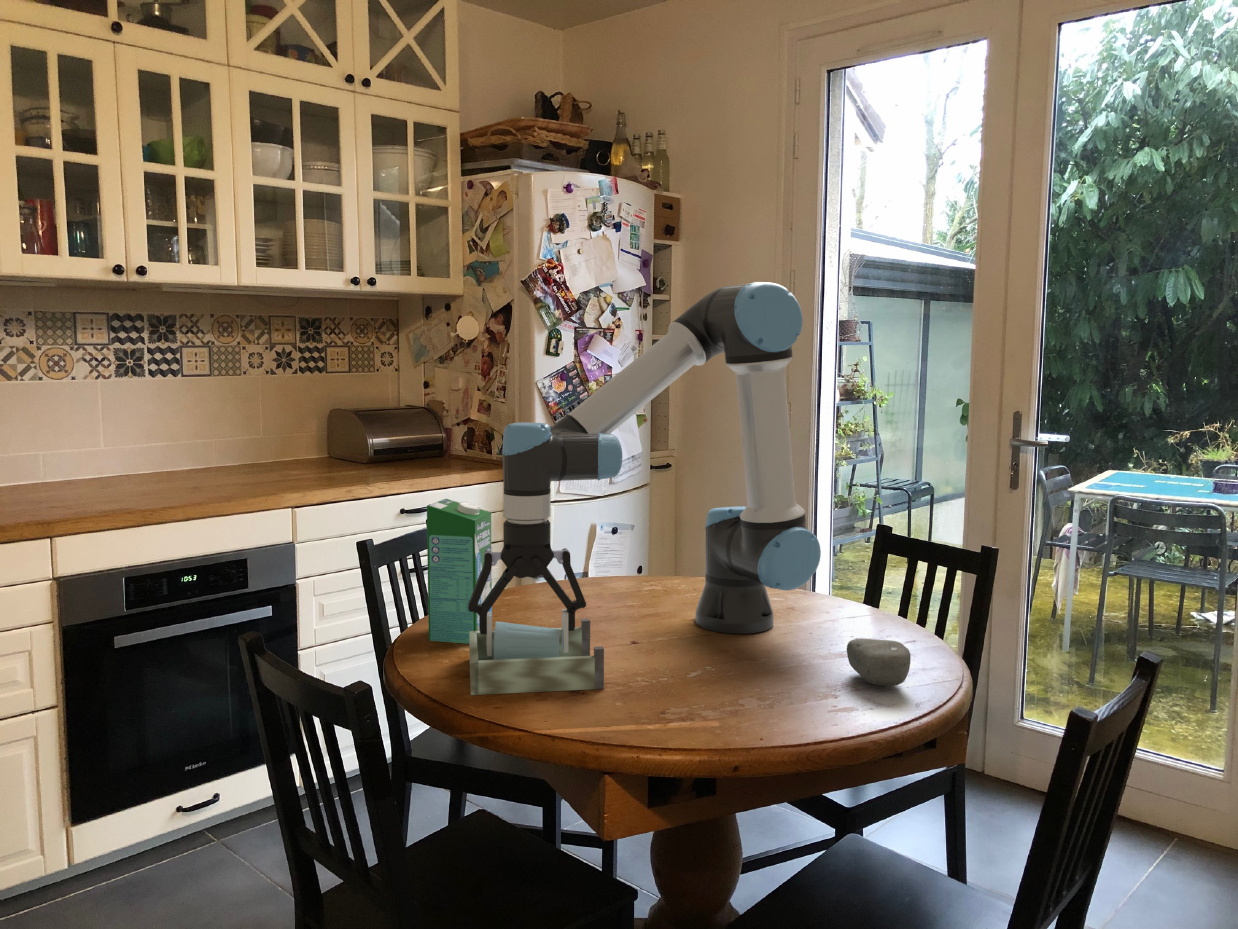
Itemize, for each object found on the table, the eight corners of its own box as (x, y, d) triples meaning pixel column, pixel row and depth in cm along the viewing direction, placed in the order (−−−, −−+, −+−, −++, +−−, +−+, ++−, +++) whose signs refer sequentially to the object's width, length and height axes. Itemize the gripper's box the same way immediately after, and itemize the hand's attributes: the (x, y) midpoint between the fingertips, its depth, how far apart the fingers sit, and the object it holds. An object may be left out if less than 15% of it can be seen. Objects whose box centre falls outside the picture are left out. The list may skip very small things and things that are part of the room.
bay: (588, 654, 169) (589, 618, 168) (603, 689, 152) (604, 649, 151) (469, 659, 165) (469, 623, 165) (470, 695, 148) (470, 654, 148)
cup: (558, 675, 155) (492, 674, 154) (557, 663, 163) (495, 662, 162) (559, 628, 155) (494, 627, 154) (559, 618, 162) (496, 617, 161)
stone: (897, 660, 162) (906, 620, 156) (907, 704, 155) (917, 664, 149) (842, 660, 163) (849, 620, 156) (850, 704, 156) (857, 663, 150)
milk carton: (475, 645, 174) (474, 507, 171) (428, 642, 176) (426, 505, 173) (492, 631, 183) (491, 499, 180) (446, 628, 184) (445, 497, 182)
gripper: (597, 514, 161) (597, 641, 164) (451, 517, 157) (453, 647, 160) (604, 521, 154) (603, 655, 156) (450, 525, 150) (452, 662, 152)
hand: (527, 651), depth 158 cm, fingers closed on cup, 12 cm apart
